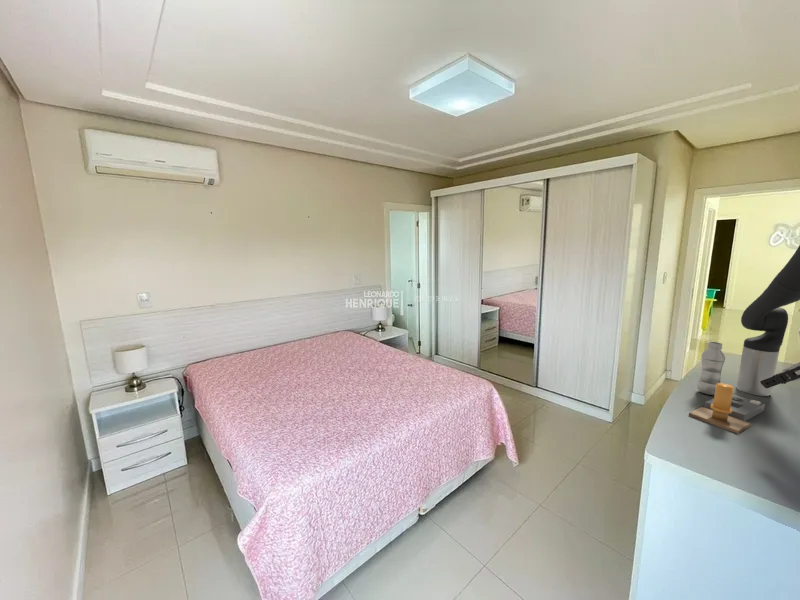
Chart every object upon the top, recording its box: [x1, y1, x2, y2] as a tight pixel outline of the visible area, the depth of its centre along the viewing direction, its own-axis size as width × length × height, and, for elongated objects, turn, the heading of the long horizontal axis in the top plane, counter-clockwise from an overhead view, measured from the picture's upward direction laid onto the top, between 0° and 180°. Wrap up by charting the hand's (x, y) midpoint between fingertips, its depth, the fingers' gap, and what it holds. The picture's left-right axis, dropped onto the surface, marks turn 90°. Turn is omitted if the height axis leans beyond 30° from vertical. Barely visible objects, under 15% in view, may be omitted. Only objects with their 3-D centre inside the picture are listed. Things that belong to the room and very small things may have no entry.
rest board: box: [688, 406, 751, 434], centre depth 106 cm, size 9×12×1 cm
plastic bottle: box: [696, 341, 726, 396], centre depth 124 cm, size 6×7×20 cm
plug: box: [710, 382, 735, 421], centre depth 105 cm, size 5×5×11 cm
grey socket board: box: [703, 394, 766, 422], centre depth 113 cm, size 16×10×3 cm, turn 117°
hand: (769, 382), depth 95 cm, fingers open, 8 cm apart
